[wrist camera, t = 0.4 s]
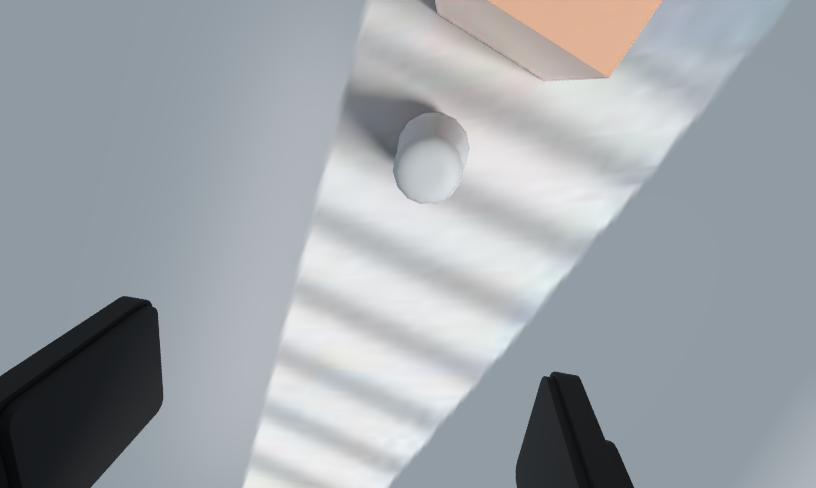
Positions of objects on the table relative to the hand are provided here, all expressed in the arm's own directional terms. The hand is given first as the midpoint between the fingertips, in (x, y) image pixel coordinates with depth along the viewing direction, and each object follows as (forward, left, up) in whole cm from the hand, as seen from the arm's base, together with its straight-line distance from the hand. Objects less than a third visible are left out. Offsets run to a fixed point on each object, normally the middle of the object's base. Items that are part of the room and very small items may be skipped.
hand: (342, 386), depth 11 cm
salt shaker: (-2, 0, -31) cm, 31 cm away
